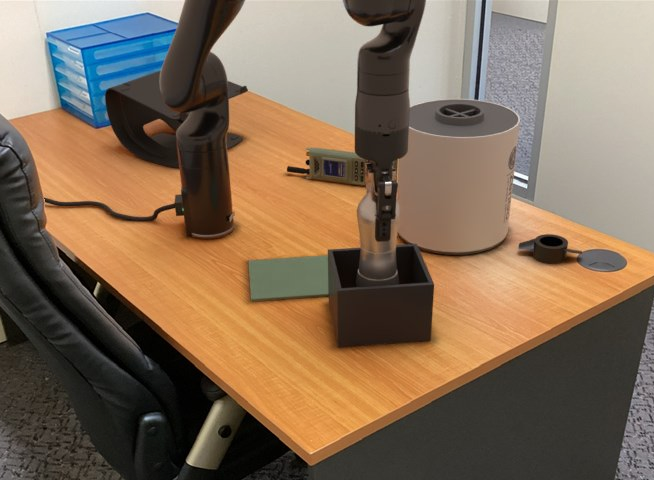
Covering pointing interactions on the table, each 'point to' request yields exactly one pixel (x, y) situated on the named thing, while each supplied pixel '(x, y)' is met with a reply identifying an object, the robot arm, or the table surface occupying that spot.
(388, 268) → the plastic bottle
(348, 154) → the handheld radio
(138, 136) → the laptop stand
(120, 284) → the table surface
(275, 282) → the mat
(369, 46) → the robot arm
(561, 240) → the black tabbed ring
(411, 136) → the humidifier
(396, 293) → the tote
